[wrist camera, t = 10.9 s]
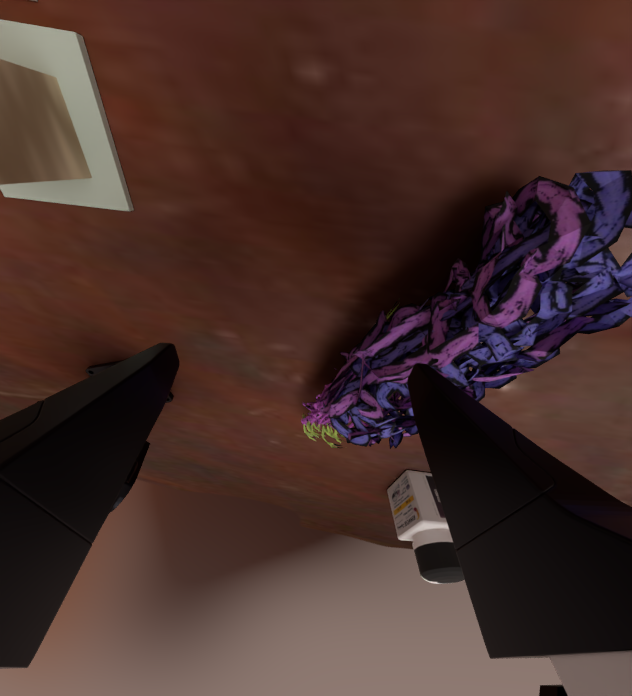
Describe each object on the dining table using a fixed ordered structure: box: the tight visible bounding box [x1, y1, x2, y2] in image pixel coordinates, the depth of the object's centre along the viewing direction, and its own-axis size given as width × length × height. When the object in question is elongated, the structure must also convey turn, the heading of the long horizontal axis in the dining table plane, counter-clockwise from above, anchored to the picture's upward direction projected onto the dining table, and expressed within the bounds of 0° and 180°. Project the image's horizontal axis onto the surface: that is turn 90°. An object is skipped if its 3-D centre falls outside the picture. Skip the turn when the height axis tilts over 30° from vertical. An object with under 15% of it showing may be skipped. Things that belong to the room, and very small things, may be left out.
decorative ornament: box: [301, 170, 632, 449], centre depth 21 cm, size 13×11×30 cm
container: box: [387, 470, 464, 584], centre depth 38 cm, size 8×8×13 cm
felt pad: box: [0, 20, 134, 211], centre depth 15 cm, size 8×8×1 cm
